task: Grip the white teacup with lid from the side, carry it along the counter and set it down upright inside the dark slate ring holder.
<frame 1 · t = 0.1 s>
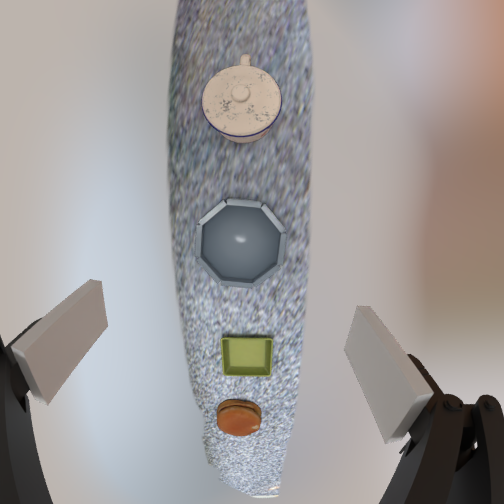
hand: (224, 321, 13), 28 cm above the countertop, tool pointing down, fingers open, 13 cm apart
burger: (239, 411, 51), on the countertop
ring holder: (240, 241, 41), on the countertop
teacup with lid: (244, 105, 35), on the countertop
green shallow square dish: (247, 351, 47), on the countertop
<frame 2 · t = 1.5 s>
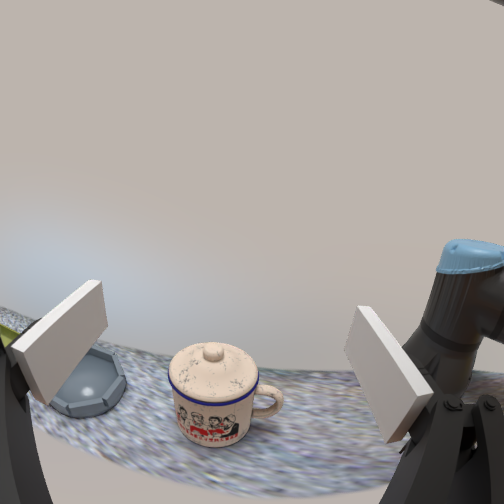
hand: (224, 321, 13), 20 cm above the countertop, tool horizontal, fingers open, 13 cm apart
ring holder: (83, 384, 29), on the countertop
teacup with lid: (225, 423, 28), on the countertop
green shallow square dish: (0, 350, 28), on the countertop
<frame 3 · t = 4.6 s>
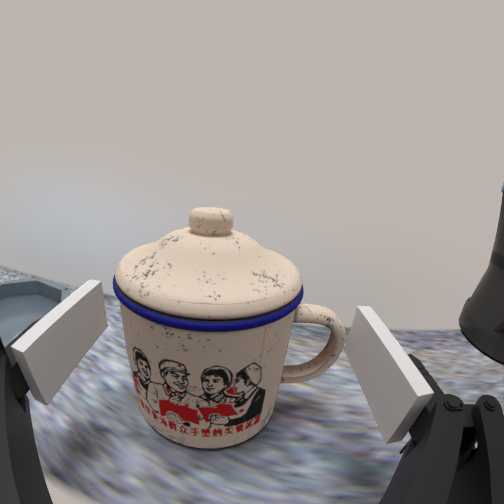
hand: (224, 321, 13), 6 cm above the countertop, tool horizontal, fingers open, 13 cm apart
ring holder: (16, 328, 17), on the countertop
teacup with lid: (228, 402, 15), on the countertop, touching gripper
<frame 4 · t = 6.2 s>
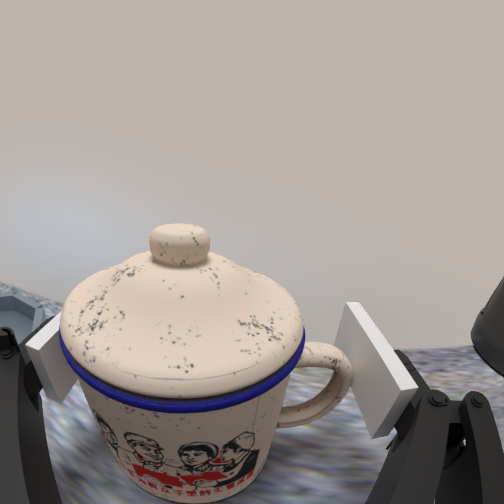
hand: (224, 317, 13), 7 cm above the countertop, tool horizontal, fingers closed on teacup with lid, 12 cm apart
teacup with lid: (215, 445, 12), on the countertop, touching gripper
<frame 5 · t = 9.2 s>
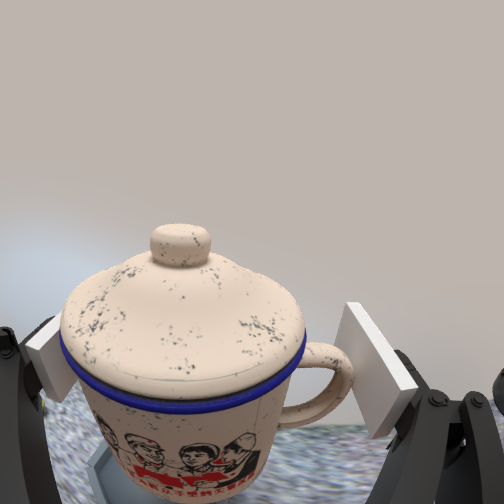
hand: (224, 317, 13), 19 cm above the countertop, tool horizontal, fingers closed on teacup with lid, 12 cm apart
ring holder: (161, 484, 17), on the countertop
teacup with lid: (215, 445, 12), point 12 cm above the countertop, touching gripper
when the fingers open (9 cm above the countertop, at t = 12.4 s): teacup with lid stays where it is, resting on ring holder.
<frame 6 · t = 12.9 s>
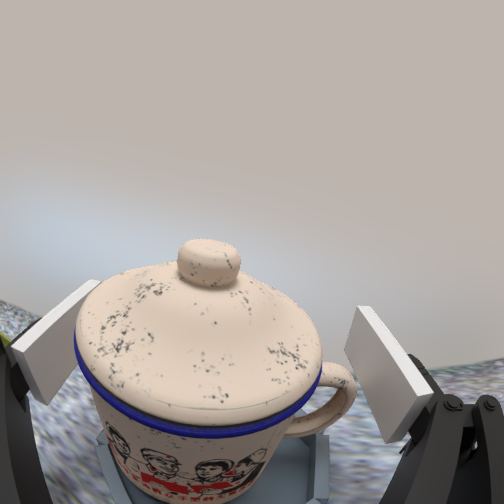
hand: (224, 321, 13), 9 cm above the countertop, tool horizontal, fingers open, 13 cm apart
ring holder: (214, 466, 12), on the countertop
teacup with lid: (213, 449, 12), point 2 cm above the countertop, touching gripper, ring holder
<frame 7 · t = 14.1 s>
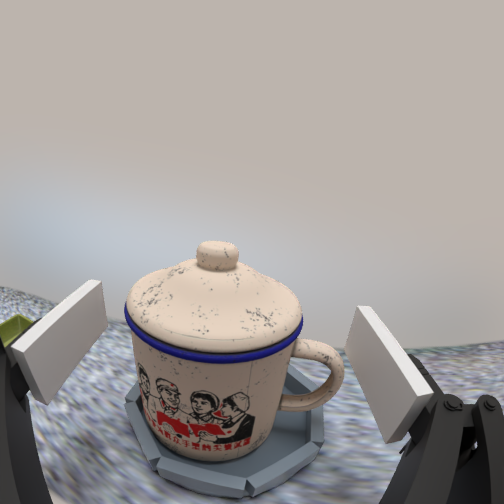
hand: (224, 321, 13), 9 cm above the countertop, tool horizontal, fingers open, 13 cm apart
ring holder: (225, 421, 16), on the countertop
teacup with lid: (229, 420, 16), point 1 cm above the countertop, touching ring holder
green shallow square dish: (17, 363, 16), on the countertop
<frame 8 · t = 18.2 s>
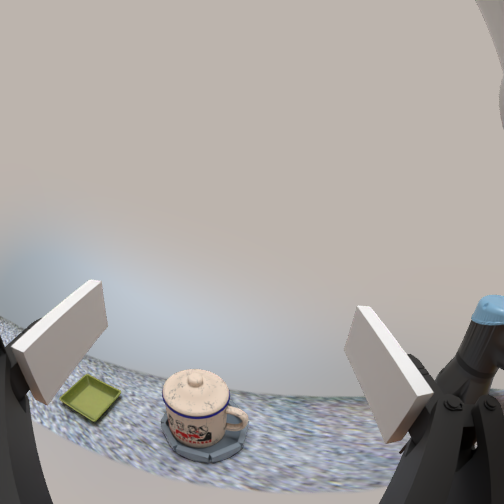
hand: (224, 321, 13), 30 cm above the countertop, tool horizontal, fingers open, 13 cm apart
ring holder: (205, 430, 35), on the countertop
teacup with lid: (206, 430, 34), point 1 cm above the countertop, touching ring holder
green shallow square dish: (92, 404, 35), on the countertop
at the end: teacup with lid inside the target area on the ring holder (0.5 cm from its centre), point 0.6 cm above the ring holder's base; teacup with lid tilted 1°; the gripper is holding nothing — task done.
